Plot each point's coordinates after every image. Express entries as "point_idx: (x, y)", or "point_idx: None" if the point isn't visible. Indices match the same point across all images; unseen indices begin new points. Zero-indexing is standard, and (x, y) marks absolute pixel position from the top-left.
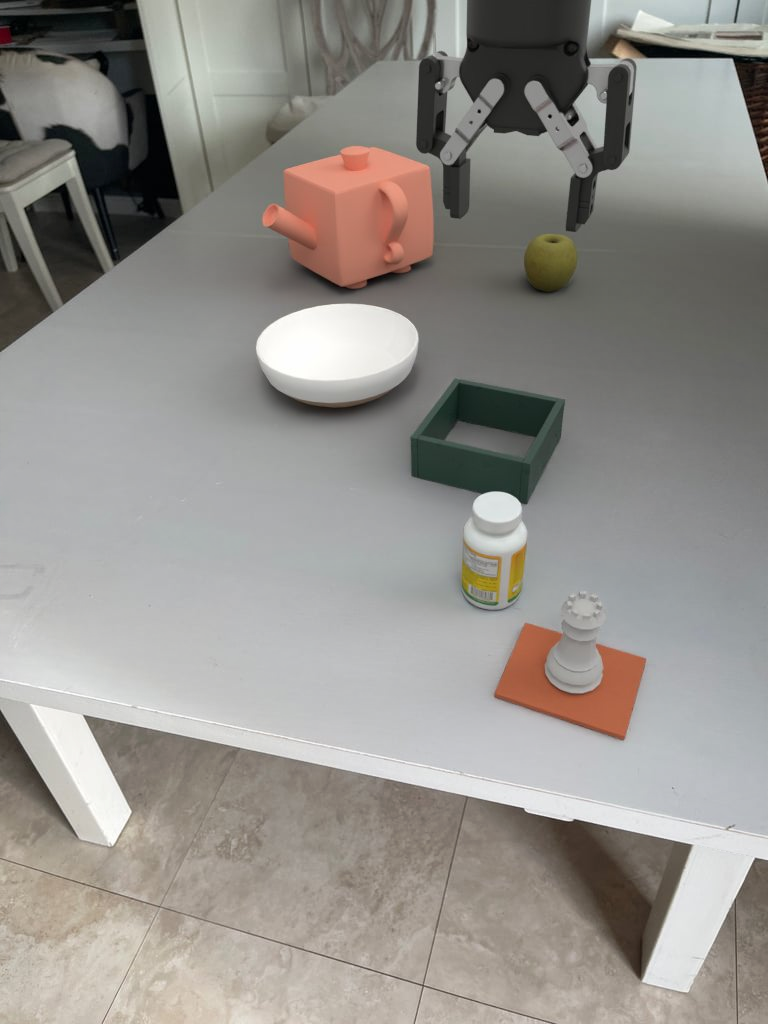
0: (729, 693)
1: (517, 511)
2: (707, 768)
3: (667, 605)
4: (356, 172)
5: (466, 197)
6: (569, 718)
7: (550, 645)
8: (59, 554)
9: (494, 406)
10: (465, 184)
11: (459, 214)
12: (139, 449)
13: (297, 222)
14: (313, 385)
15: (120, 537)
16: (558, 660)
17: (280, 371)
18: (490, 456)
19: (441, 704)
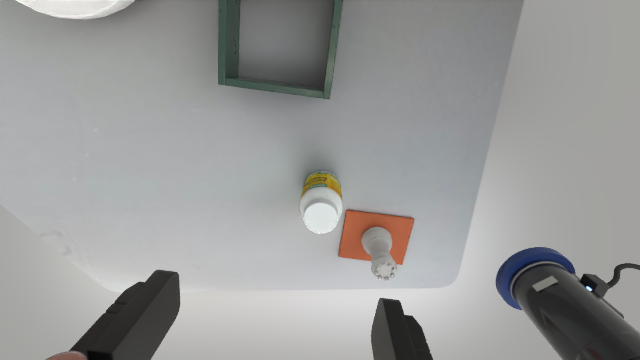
0: (455, 226)
1: (335, 220)
2: (438, 267)
3: (428, 173)
4: None
5: (163, 302)
6: None
7: (362, 223)
8: (57, 220)
9: None
10: (147, 331)
11: (175, 316)
12: (3, 103)
13: None
14: (84, 18)
15: (78, 199)
16: (369, 254)
17: (35, 8)
18: (294, 94)
19: (314, 263)
